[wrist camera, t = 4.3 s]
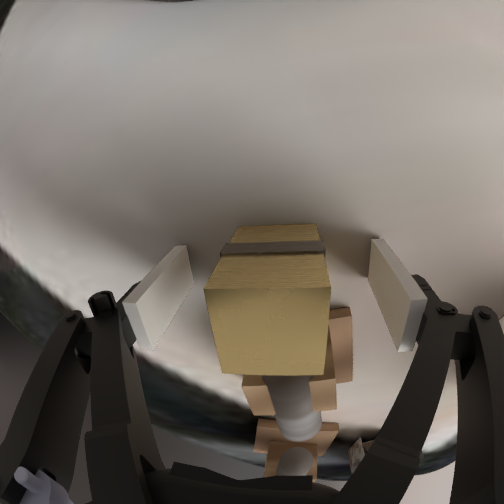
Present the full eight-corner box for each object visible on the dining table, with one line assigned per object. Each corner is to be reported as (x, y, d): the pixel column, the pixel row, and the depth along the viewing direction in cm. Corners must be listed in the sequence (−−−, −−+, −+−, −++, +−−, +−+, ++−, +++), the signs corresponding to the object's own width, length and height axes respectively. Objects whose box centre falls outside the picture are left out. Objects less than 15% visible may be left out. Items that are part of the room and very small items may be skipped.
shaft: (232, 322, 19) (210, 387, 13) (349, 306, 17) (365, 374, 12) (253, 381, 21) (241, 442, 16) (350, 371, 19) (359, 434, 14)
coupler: (237, 224, 16) (200, 286, 10) (317, 221, 15) (333, 284, 9) (244, 293, 18) (220, 374, 11) (317, 292, 17) (325, 376, 11)
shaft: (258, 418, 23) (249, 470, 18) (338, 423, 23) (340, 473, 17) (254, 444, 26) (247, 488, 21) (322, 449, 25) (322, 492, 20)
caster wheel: (402, 440, 28) (337, 458, 28) (435, 411, 21) (355, 437, 22) (411, 477, 22) (343, 499, 23) (450, 459, 16) (365, 493, 16)
